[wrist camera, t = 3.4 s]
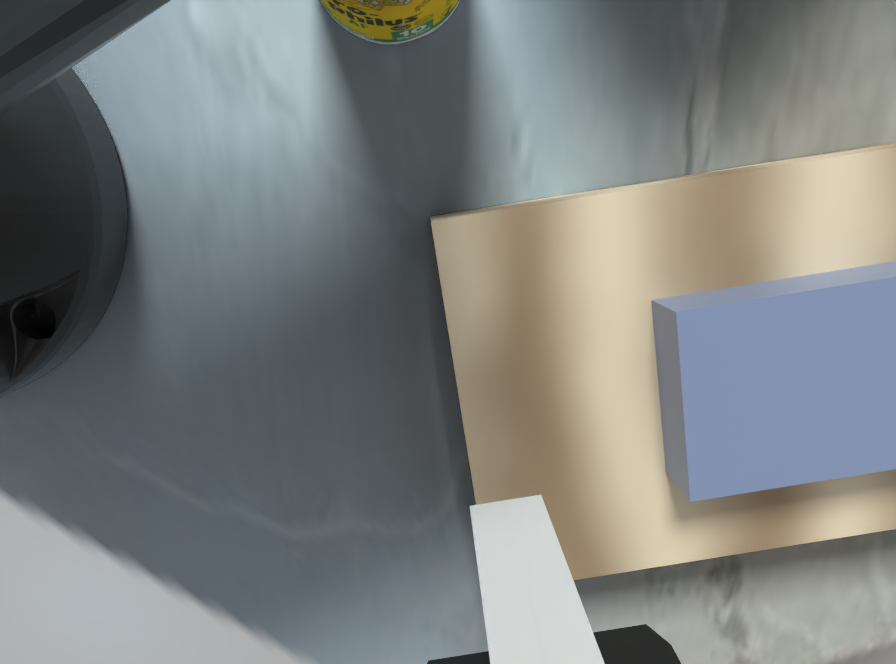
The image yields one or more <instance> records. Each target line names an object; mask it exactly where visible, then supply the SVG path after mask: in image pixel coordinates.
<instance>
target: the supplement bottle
mask: <svg viewBox="0 0 896 664" xmlns="http://www.w3.org/2000/svg"><path fill="white" fill-rule="evenodd" d="M320 1H321V3H322V4H323V5H324V7H325V8H326V10H327V11H328V12H329V14H330V15H331V16H332V18H333V19H334V20H335V21H336V22H337V23H338V24H339V25H341V26H342V27H343V28H344V29H346V30H347V31H349V32H350V33H352V34H354V35H356V36H358V37H360V38H362V39H365V40H367V41H370V42H374V43H379V44H400V43H405V42H409V41H412V40H415V39H418V38H421V37H423V36H426V35H428V34H430V33H431V32H433V31H435V30H436V29H437V28H439V27H440V26H441V25H443V24H444V23H445V22H446V21H447V19H448V18H449V17H450V16H451V15H452V13H453V12H454V11H455V9H456V8H457V6H458V4H459V2H460V0H320Z"/></svg>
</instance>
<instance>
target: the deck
mask: <svg viewBox="0 0 896 664" xmlns="http://www.w3.org/2000/svg"><path fill="white" fill-rule="evenodd" d="M430 220H431V227H432V233H433V239H434V245H435V252H436V258H437V264H438V270H439V277H440V283H441V289H442V295H443V302H444V308H445V314H446V320H447V327H448V333H449V339H450V345H451V352H452V358H453V364H454V370H455V377H456V383H457V389H458V395H459V402H460V408H461V414H462V420H463V427H464V433H465V439H466V445H467V452H468V458H469V464H470V470H471V477H472V483H473V489H474V496H475V502H476V505H478V504H484V503H491V502H497V501H503V500H510V499H516V498H522V497H529V496H535V495H541V496H542V498H543V501H544V504H545V506H546V509H547V512H548V514H549V517H550V520H551V522H552V525H553V527H554V530H555V533H556V535H557V538H558V541H559V543H560V546H561V549H562V551H563V554H564V557H565V559H566V562H567V565H568V567H569V570H570V573H571V575H572V578H573V580H579V579H585V578H592V577H598V576H604V575H610V574H617V573H623V572H629V571H635V570H642V569H648V568H654V567H661V566H667V565H673V564H679V563H686V562H692V561H698V560H705V559H711V558H717V557H723V556H730V555H736V554H742V553H748V552H755V551H761V550H767V549H774V548H780V547H786V546H792V545H799V544H805V543H811V542H817V541H824V540H830V539H836V538H843V537H849V536H855V535H861V534H868V533H874V532H880V531H886V530H893V529H896V469H893V470H887V471H881V472H874V473H868V474H862V475H856V476H849V477H843V478H837V479H830V480H824V481H818V482H812V483H805V484H799V485H793V486H787V487H780V488H774V489H768V490H761V491H755V492H749V493H743V494H736V495H730V496H724V497H718V498H711V499H705V500H699V501H693V502H690V501H689V500H688V499H687V497H686V496H685V495H684V494H683V493H682V491H681V490H680V489H679V488H678V487H677V486H676V484H675V483H674V482H673V481H672V480H671V479H670V477H669V476H668V475H667V474H666V468H665V456H664V444H663V432H662V421H661V409H660V397H659V385H658V373H657V361H656V349H655V337H654V325H653V313H652V302H651V300H655V299H661V298H667V297H674V296H680V295H686V294H692V293H699V292H705V291H711V290H717V289H724V288H730V287H736V286H742V285H749V284H755V283H761V282H767V281H774V280H780V279H786V278H792V277H799V276H805V275H811V274H817V273H824V272H830V271H836V270H842V269H849V268H855V267H861V266H868V265H874V264H880V263H886V262H893V261H896V142H892V143H886V144H879V145H873V146H867V147H861V148H854V149H848V150H842V151H836V152H829V153H823V154H817V155H811V156H804V157H798V158H792V159H786V160H779V161H773V162H767V163H761V164H754V165H748V166H742V167H736V168H729V169H723V170H717V171H711V172H704V173H698V174H692V175H686V176H679V177H673V178H667V179H661V180H654V181H648V182H642V183H636V184H629V185H623V186H617V187H611V188H604V189H598V190H592V191H586V192H579V193H573V194H567V195H561V196H554V197H548V198H542V199H536V200H529V201H523V202H517V203H511V204H504V205H498V206H492V207H486V208H479V209H473V210H467V211H461V212H454V213H448V214H442V215H436V216H430Z"/></svg>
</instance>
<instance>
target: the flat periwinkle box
mask: <svg viewBox="0 0 896 664" xmlns="http://www.w3.org/2000/svg"><path fill="white" fill-rule="evenodd" d="M651 302H652V313H653V325H654V337H655V349H656V361H657V373H658V385H659V397H660V409H661V421H662V432H663V444H664V456H665V468H666V474H667V475H668V476H669V477H670V479H671V480H672V481H673V482H674V483H675V484H676V486H677V487H678V488H679V489H680V490H681V491H682V493H683V494H684V495H685V496H686V497H687V499H688V500H689V501H690V502H693V501H699V500H705V499H711V498H718V497H724V496H730V495H736V494H743V493H749V492H755V491H761V490H768V489H774V488H780V487H787V486H793V485H799V484H805V483H812V482H818V481H824V480H830V479H837V478H843V477H849V476H856V475H862V474H868V473H874V472H881V471H887V470H893V469H896V261H893V262H886V263H880V264H874V265H868V266H861V267H855V268H849V269H842V270H836V271H830V272H824V273H817V274H811V275H805V276H799V277H792V278H786V279H780V280H774V281H767V282H761V283H755V284H749V285H742V286H736V287H730V288H724V289H717V290H711V291H705V292H699V293H692V294H686V295H680V296H674V297H667V298H661V299H655V300H651Z"/></svg>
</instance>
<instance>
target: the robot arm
mask: <svg viewBox="0 0 896 664" xmlns="http://www.w3.org/2000/svg"><path fill="white" fill-rule="evenodd" d="M169 1H170V0H0V397H2V396H4V395H6V394H8V393H10V392H12V391H14V390H16V389H18V388H20V387H22V386H24V385H27V384H29V383H31V382H33V381H34V380H36V379H38V378H40V377H42V376H44V375H45V374H47V373H48V372H50V371H51V370H53V369H54V368H56V367H57V366H58V365H60V364H61V363H62V362H63V361H65V360H66V359H67V358H68V357H69V356H70V355H71V354H73V353H74V352H75V351H76V350H77V349H78V348H79V347H80V346H81V344H82V343H83V342H84V341H85V340H86V339H87V338H88V336H89V335H90V334H91V332H92V331H93V330H94V328H95V327H96V326H97V324H98V323H99V321H100V319H101V318H102V316H103V315H104V313H105V311H106V309H107V307H108V305H109V303H110V301H111V299H112V296H113V294H114V291H115V289H116V286H117V283H118V280H119V277H120V274H121V269H122V265H123V261H124V255H125V249H126V240H127V202H126V193H125V186H124V180H123V175H122V171H121V167H120V162H119V159H118V156H117V153H116V149H115V146H114V144H113V141H112V138H111V136H110V133H109V130H108V128H107V126H106V124H105V122H104V120H103V117H102V115H101V113H100V111H99V110H98V108H97V106H96V104H95V102H94V100H93V99H92V97H91V95H90V94H89V92H88V91H87V89H86V87H85V86H84V84H83V83H82V81H81V80H80V79H79V77H78V76H77V75H76V73H75V72H74V70H73V69H72V67H73V66H75V65H76V64H77V63H79V62H80V61H82V60H83V59H85V58H86V57H88V56H89V55H91V54H92V53H94V52H95V51H97V50H98V49H100V48H101V47H103V46H104V45H106V44H107V43H108V42H110V41H111V40H113V39H114V38H116V37H117V36H119V35H120V34H122V33H123V32H125V31H126V30H128V29H129V28H131V27H132V26H134V25H135V24H136V23H138V22H139V21H141V20H142V19H144V18H145V17H147V16H148V15H150V14H151V13H153V12H154V11H156V10H157V9H159V8H160V7H162V6H163V5H165V4H166V3H167V2H169ZM470 513H471V521H472V528H473V536H474V544H475V551H476V559H477V566H478V574H479V581H480V589H481V597H482V604H483V612H484V619H485V627H486V634H487V642H488V650H489V651H487V652H481V653H475V654H468V655H462V656H455V657H449V658H443V659H436V660H430V661H428V663H427V664H681V663H680V661H679V659H678V657H677V655H676V653H675V651H674V650H673V648H672V646H671V645H670V644H669V643H668V642H667V641H666V640H664V639H663V638H662V637H661V636H660V635H658V634H657V633H656V632H655V631H653V630H652V629H651V628H650V627H649V626H647V625H646V624H645V625H638V626H632V627H625V628H619V629H613V630H606V631H600V632H594V633H593V631H592V629H591V626H590V623H589V621H588V618H587V615H586V613H585V610H584V607H583V605H582V602H581V599H580V597H579V594H578V591H577V589H576V586H575V583H574V581H573V578H572V575H571V573H570V570H569V567H568V565H567V562H566V559H565V557H564V554H563V551H562V549H561V546H560V543H559V541H558V538H557V535H556V533H555V530H554V527H553V525H552V522H551V520H550V517H549V514H548V512H547V509H546V506H545V504H544V501H543V498H542V496H541V495H535V496H529V497H522V498H516V499H510V500H503V501H497V502H491V503H484V504H478V505H472V506H470Z"/></svg>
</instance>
